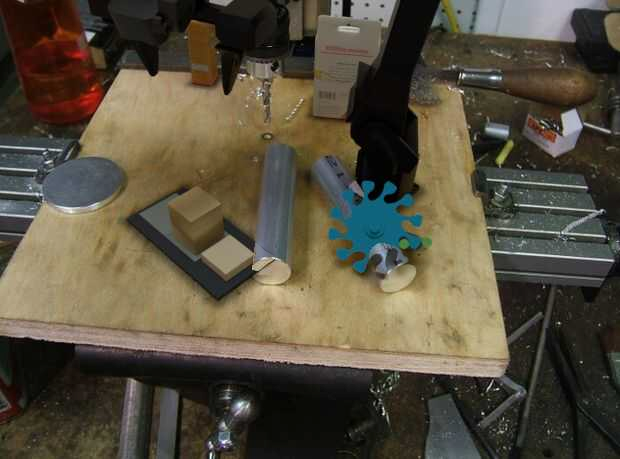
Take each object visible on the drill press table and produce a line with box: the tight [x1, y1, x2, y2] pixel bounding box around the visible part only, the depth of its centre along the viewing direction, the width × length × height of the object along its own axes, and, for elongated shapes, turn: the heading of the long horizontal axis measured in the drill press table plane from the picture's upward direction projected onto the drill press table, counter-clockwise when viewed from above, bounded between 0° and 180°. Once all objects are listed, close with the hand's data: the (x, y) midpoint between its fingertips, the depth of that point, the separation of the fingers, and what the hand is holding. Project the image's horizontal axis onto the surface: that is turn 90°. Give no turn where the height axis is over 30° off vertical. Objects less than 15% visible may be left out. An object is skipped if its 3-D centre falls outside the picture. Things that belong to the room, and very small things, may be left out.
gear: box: [327, 181, 433, 274], centre depth 61 cm, size 11×6×10 cm
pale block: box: [167, 185, 225, 255], centre depth 60 cm, size 4×4×5 cm
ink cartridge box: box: [312, 14, 382, 120], centre depth 76 cm, size 9×5×15 cm, turn 83°
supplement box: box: [186, 20, 219, 87], centre depth 82 cm, size 3×3×10 cm
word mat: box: [126, 186, 259, 301], centre depth 61 cm, size 16×8×2 cm, turn 46°
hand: (190, 84), depth 62 cm, fingers open, 9 cm apart
